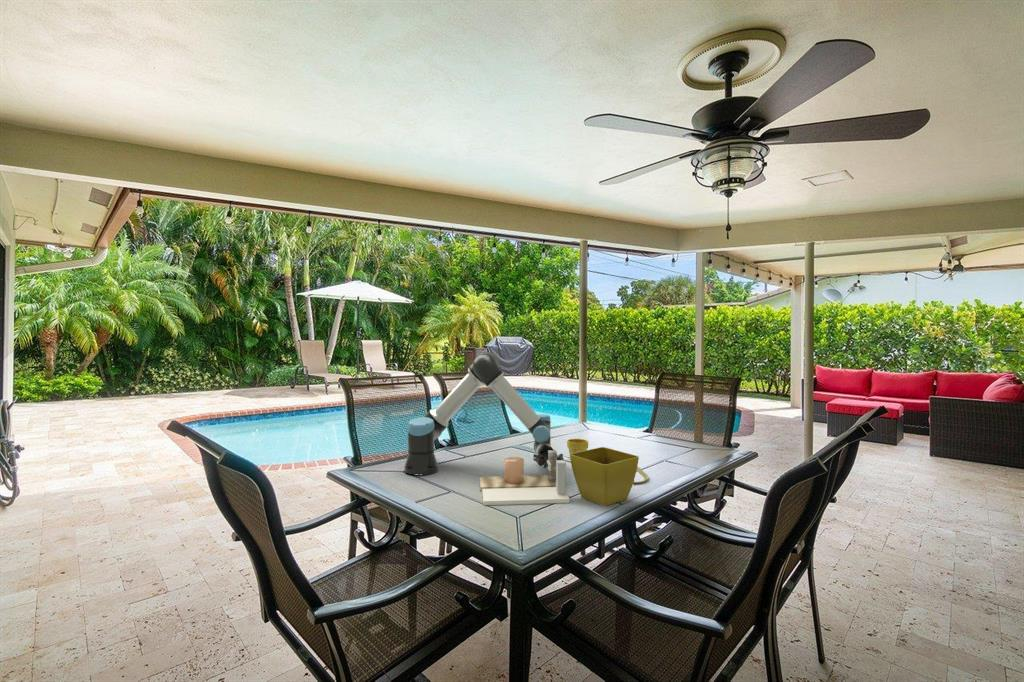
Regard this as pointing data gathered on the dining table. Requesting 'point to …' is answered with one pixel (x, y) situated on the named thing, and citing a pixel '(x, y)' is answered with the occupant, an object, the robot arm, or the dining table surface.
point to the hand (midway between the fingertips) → (554, 467)
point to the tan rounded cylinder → (514, 470)
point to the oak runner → (525, 478)
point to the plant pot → (577, 445)
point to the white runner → (530, 492)
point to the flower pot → (604, 474)
